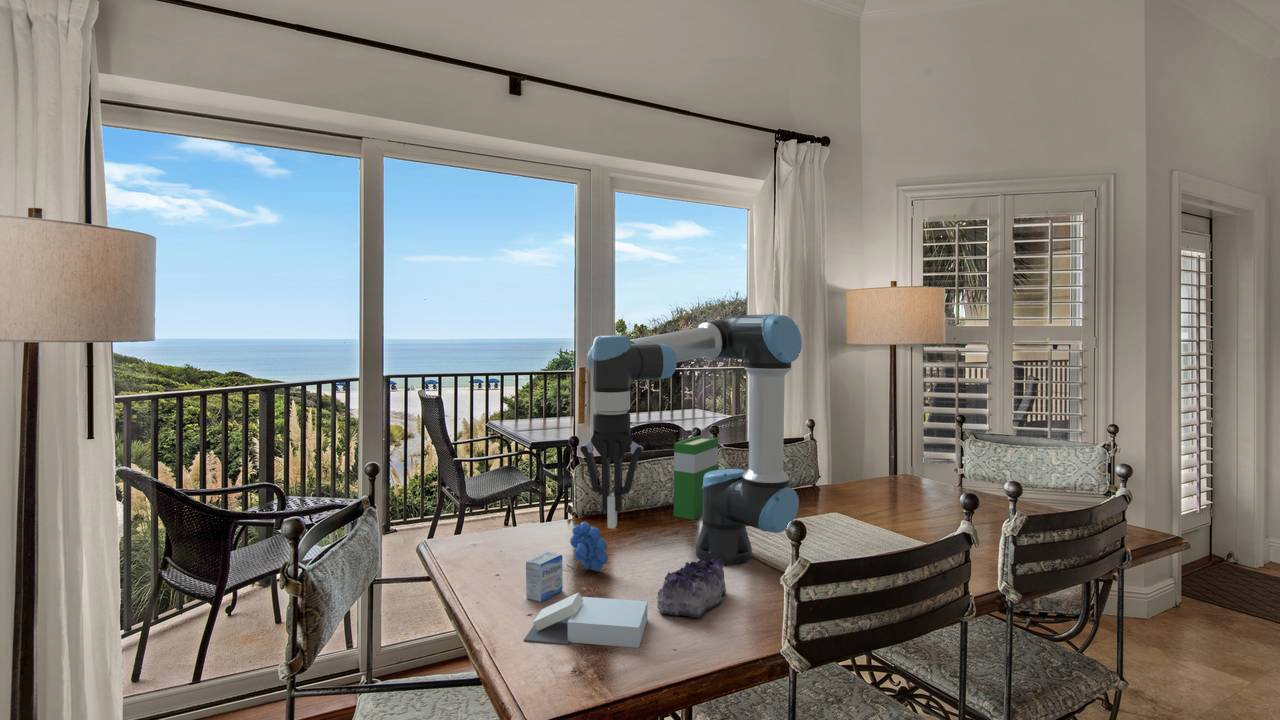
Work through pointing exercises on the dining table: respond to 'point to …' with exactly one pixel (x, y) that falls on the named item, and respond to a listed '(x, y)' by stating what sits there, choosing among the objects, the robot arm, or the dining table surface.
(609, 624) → the block
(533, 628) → the mat
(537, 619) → the cream rectangular box
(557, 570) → the medicine box
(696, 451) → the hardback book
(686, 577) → the geode
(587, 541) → the grapes
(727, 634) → the dining table surface
